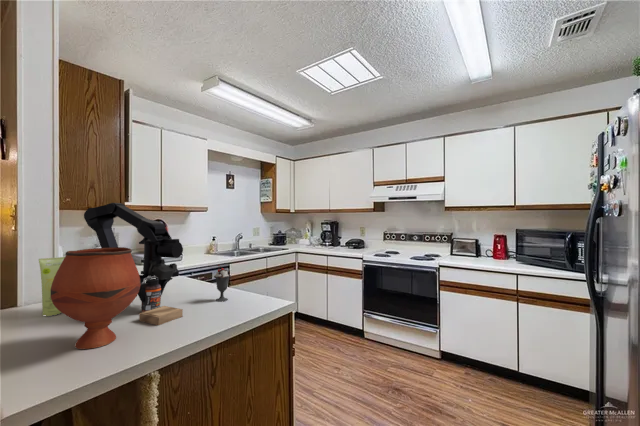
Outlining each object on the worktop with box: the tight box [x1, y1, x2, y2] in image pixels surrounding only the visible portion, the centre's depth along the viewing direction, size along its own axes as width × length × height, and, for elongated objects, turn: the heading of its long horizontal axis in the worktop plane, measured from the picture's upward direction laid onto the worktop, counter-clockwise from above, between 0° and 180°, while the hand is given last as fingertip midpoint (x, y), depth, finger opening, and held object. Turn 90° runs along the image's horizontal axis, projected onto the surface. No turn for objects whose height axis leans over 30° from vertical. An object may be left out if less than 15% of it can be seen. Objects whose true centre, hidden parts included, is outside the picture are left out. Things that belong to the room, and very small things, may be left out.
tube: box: [38, 256, 65, 317], centre depth 96 cm, size 6×5×20 cm
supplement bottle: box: [140, 278, 162, 313], centre depth 101 cm, size 6×6×11 cm
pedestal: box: [138, 305, 184, 326], centre depth 94 cm, size 9×9×3 cm
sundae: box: [213, 264, 232, 303], centre depth 117 cm, size 7×7×15 cm
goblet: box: [51, 246, 141, 350], centre depth 76 cm, size 19×19×25 cm
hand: (151, 299), depth 101 cm, fingers closed on supplement bottle, 6 cm apart
